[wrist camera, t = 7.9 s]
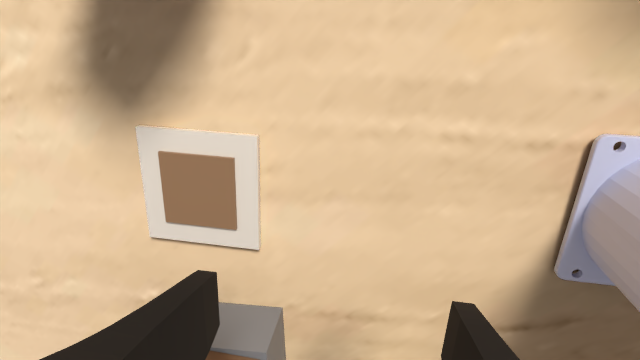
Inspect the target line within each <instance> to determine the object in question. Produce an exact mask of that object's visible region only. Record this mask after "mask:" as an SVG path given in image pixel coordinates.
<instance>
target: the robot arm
mask: <svg viewBox="0 0 640 360" xmlns="http://www.w3.org/2000/svg"><path fill="white" fill-rule="evenodd" d="M620 141H621V146H620V147H619V148H618V149H616V150H613V146H614V145H615V143H617V142H620ZM577 269H579V271H578V272H577V273H574V274H572V272H573V271H574V270H577ZM554 271H555V273H556V275H557V276H558V277H559V278H560V279H563V280H570V281H578V282H587V283H595V284H604V285H612V286H616V287H617V288H618V289H619V290H620V291H621V292H622V293H623V294H624V295H625V297H626V298H627V299H628V300H629V301H630V302H631V303H632V304H633V305H634V306H635V308H636V309H637V310H638V311H639V312H640V136H631V135H618V134H602V135H600V136H598V137H597V138H596V139H595V140H594V142H593V144H592V147H591V151H590V154H589V157H588V160H587V164H586V167H585V170H584V173H583V177H582V180H581V183H580V186H579V190H578V193H577V196H576V199H575V203H574V206H573V209H572V212H571V216H570V219H569V222H568V225H567V229H566V232H565V235H564V238H563V241H562V245H561V248H560V251H559V254H558V258H557V261H556V264H555V267H554ZM219 326H220V318H219V302H218V286H217V272H209V271H201V270H198V271H196V272H194V273H193V274H191V275H189V276H188V277H186V278H185V279H183V280H182V281H180V282H179V283H177V284H176V285H174V286H173V287H171V288H170V289H168V290H167V291H165V292H164V293H162V294H161V295H159V296H158V297H156V298H155V299H153V300H152V301H150V302H149V303H147V304H146V305H144V306H142V307H141V308H139V309H137V310H136V311H134V312H132V313H131V314H129V315H127V316H126V317H124V318H122V319H121V320H119V321H117V322H116V323H114V324H112V325H110V326H109V327H107V328H105V329H103V330H101V331H99V332H98V333H96V334H94V335H92V336H90V337H88V338H86V339H84V340H82V341H80V342H78V343H76V344H74V345H72V346H70V347H67V348H65V349H63V350H61V351H58V352H56V353H54V354H51V355H49V356H47V357H44V358H42V359H40V360H205V359H206V357H207V355H208V353H209V351H210V348H211V346H212V344H213V341H214V339H215V336H216V333H217V331H218V328H219ZM441 358H442V360H520V359H519V358H518V357H517V356H516V355H515V353H514V352H513V351H512V350H511V349H510V348H509V346H508V345H507V344H506V343H505V342H504V340H503V339H502V338H501V337H500V336H499V334H498V333H497V332H496V331H495V330H494V328H493V327H492V326H491V325H490V323H489V322H488V321H487V320H486V318H485V317H484V316H483V315H482V313H481V312H480V311H479V310H478V308H477V307H476V306H475V305H474V304H471V303H463V302H455V301H452V304H451V309H450V314H449V319H448V324H447V329H446V334H445V339H444V344H443V349H442V354H441Z"/></svg>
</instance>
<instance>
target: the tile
mask: <svg viewBox="0 0 640 360" xmlns="http://www.w3.org/2000/svg"><path fill="white" fill-rule="evenodd" d="M135 128H136V136H137V143H138V151H139V158H140V166H141V174H142V181H143V189H144V196H145V204H146V211H147V219H148V226H149V234H150V237H155V238H164V239H172V240H180V241H189V242H197V243H205V244H214V245H222V246H231V247H239V248H247V249H256V250H259V249H260V247H261V221H260V153H259V135H256V134H244V133H232V132H219V131H207V130H195V129H183V128H171V127H158V126H146V125H138V126H135Z"/></svg>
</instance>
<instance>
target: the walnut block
mask: <svg viewBox="0 0 640 360" xmlns="http://www.w3.org/2000/svg"><path fill="white" fill-rule="evenodd" d="M205 360H260V359H255V358H249V357H243V356H238V355H232V354H227V353H221V352H216V351H209V353H208V355H207V357H206V359H205Z"/></svg>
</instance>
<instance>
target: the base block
mask: <svg viewBox="0 0 640 360" xmlns="http://www.w3.org/2000/svg"><path fill="white" fill-rule="evenodd" d="M219 318H220V326H219V328H218V331H217V333H216V336H215V339H214V341H213V344H212V346H211V348H210V351H216V352H221V353H227V354H232V355H238V356H243V357H249V358H255V359H260V360H286V353H285V338H284V323H283V308H279V307H267V306H256V305H244V304H232V303H220V302H219Z"/></svg>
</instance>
